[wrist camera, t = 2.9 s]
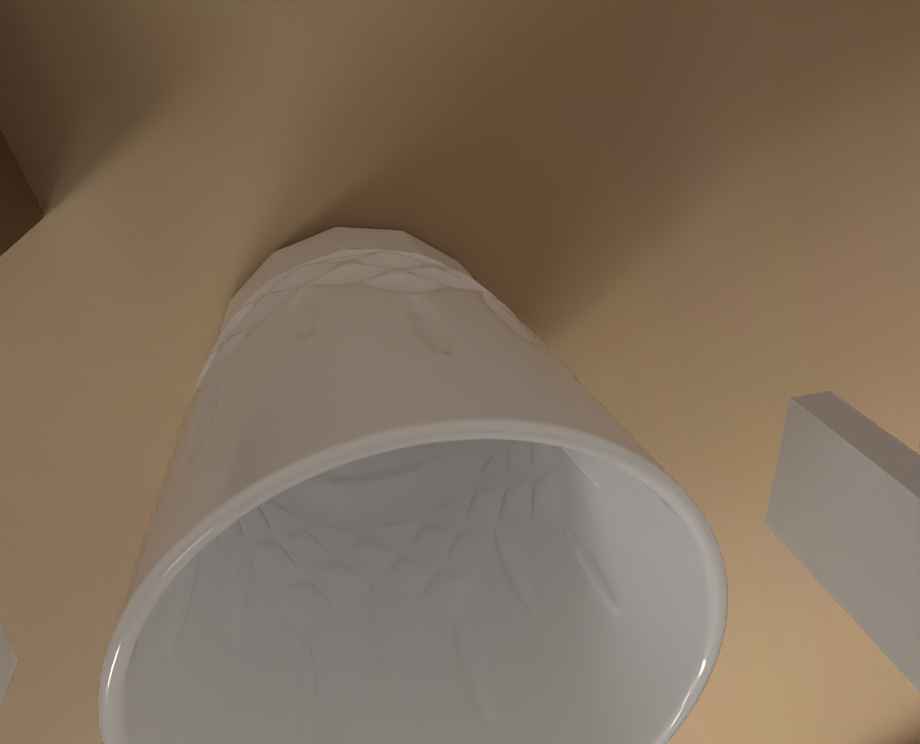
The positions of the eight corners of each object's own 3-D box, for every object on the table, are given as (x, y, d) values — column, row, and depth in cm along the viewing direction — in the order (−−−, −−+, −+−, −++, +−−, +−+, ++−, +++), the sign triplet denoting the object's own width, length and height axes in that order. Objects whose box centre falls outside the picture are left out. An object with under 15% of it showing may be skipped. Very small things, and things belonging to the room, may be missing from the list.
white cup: (455, 508, 20) (589, 878, 12) (162, 464, 18) (54, 903, 9) (559, 250, 18) (836, 484, 9) (229, 151, 15) (165, 348, 6)
